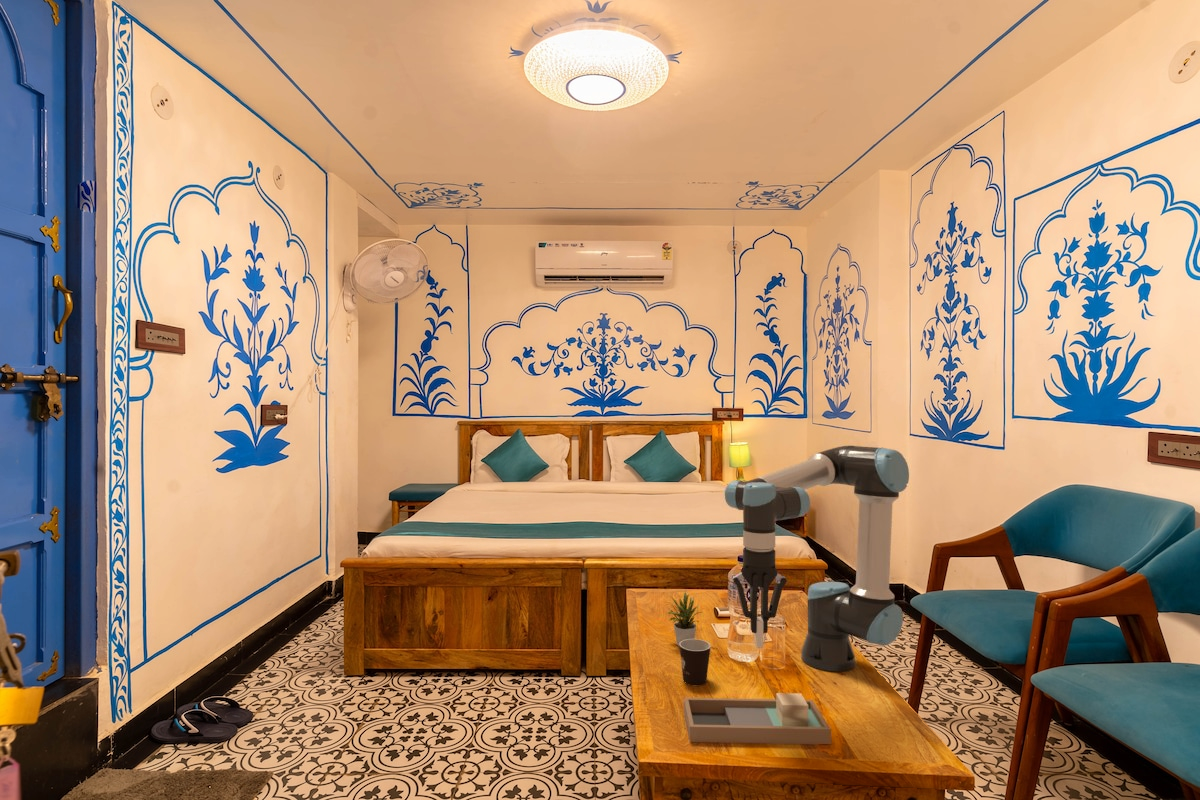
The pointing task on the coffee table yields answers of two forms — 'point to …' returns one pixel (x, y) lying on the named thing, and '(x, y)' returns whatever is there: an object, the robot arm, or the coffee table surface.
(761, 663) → the coffee table surface
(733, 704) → the track
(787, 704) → the ash block
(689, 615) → the house plant
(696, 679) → the coffee mug
